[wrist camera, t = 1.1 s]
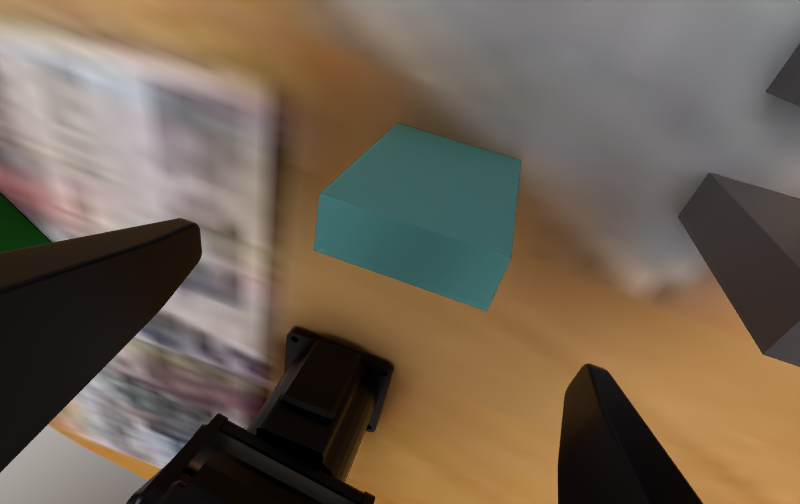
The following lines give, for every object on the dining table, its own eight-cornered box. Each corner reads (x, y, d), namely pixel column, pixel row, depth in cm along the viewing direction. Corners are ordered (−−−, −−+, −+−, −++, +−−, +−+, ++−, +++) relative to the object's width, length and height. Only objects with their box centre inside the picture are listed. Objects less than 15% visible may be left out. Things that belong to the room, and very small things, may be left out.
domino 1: (504, 201, 16) (486, 311, 11) (388, 164, 17) (313, 250, 11) (521, 160, 15) (511, 257, 10) (397, 122, 16) (319, 193, 10)
